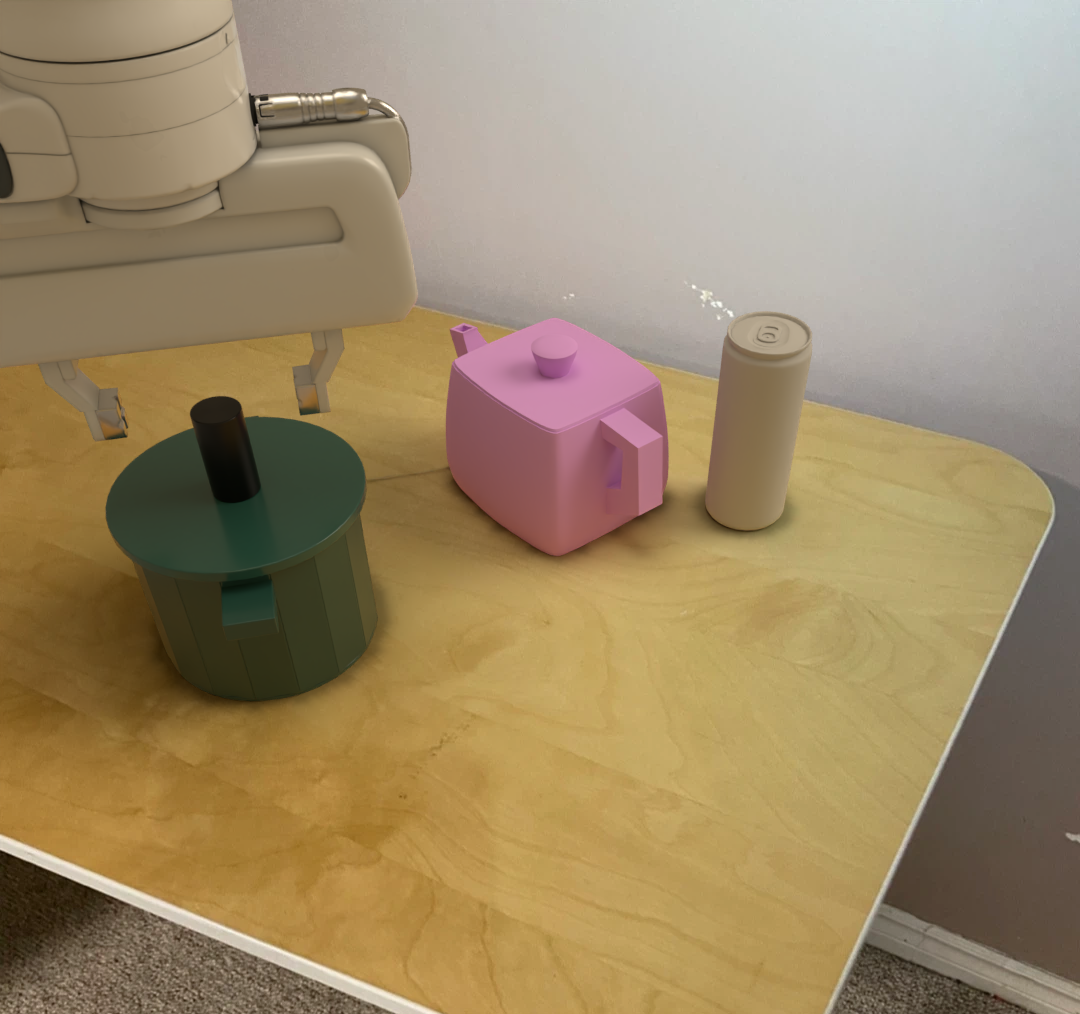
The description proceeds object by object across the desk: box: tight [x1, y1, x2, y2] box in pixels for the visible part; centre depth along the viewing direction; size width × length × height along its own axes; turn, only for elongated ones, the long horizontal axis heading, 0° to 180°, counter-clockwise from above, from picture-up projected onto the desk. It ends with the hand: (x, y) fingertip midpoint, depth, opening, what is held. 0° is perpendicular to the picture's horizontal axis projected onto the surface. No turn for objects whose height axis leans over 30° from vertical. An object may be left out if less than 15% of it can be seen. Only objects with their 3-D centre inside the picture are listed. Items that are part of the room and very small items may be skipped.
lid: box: [104, 395, 368, 582], centre depth 54 cm, size 13×13×6 cm
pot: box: [131, 415, 379, 702], centre depth 59 cm, size 12×17×9 cm
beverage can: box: [704, 310, 813, 532], centre depth 65 cm, size 5×5×12 cm
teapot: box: [445, 317, 670, 557], centre depth 67 cm, size 18×10×10 cm, turn 39°
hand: (214, 420), depth 53 cm, fingers open, 8 cm apart
